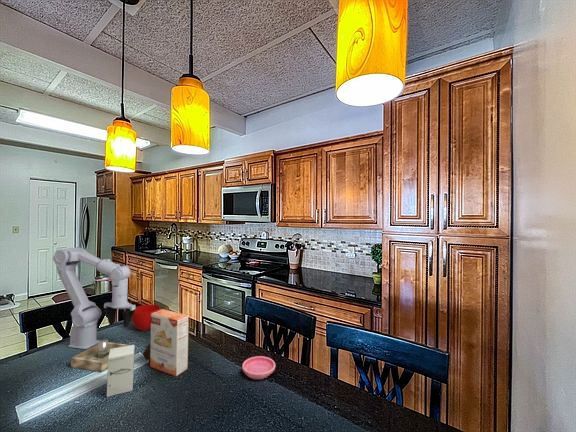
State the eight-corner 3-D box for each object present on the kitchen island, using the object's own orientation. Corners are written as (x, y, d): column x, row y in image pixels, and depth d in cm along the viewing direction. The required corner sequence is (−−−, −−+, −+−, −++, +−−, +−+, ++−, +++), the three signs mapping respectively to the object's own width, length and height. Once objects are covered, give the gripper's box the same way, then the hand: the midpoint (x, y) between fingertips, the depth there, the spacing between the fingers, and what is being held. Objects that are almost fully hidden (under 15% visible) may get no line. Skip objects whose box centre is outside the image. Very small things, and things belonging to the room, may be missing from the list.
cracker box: (148, 367, 102) (150, 312, 103) (162, 360, 108) (163, 308, 108) (175, 377, 96) (176, 319, 97) (188, 369, 102) (189, 314, 102)
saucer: (267, 360, 109) (267, 352, 109) (280, 377, 98) (281, 368, 98) (237, 368, 104) (238, 360, 104) (248, 386, 93) (248, 377, 93)
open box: (70, 367, 102) (70, 358, 102) (103, 349, 115) (103, 341, 115) (101, 372, 99) (101, 362, 99) (131, 353, 113) (131, 345, 113)
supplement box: (105, 398, 85) (106, 358, 85) (108, 385, 92) (109, 347, 92) (132, 391, 89) (133, 353, 89) (133, 379, 95) (134, 343, 95)
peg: (95, 360, 106) (96, 342, 106) (102, 356, 109) (103, 339, 109) (102, 361, 105) (102, 343, 105) (109, 357, 108) (109, 339, 108)
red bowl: (144, 337, 127) (144, 316, 127) (125, 329, 137) (126, 309, 137) (169, 328, 138) (169, 309, 138) (150, 321, 147) (151, 302, 147)
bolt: (159, 347, 123) (151, 363, 108) (149, 342, 122) (140, 358, 107) (166, 335, 124) (160, 349, 109) (156, 330, 123) (148, 344, 108)
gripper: (140, 293, 121) (140, 323, 121) (113, 290, 124) (113, 320, 124) (128, 297, 114) (127, 329, 114) (100, 294, 117) (99, 326, 117)
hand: (119, 325), depth 119 cm, fingers open, 7 cm apart
